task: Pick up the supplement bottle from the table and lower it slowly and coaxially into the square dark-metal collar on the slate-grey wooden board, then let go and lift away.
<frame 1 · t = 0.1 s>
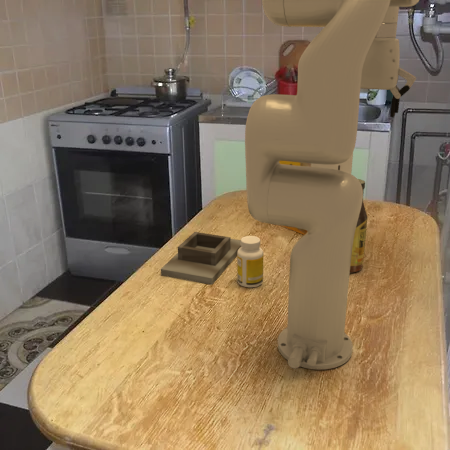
hand: (369, 114, 120), 31 cm above the table, fingers open, 9 cm apart
packaging box: (304, 219, 148), on the table
sauce bottle: (348, 268, 122), on the table
supplement bottle: (250, 282, 116), on the table
collar board: (205, 260, 125), on the table
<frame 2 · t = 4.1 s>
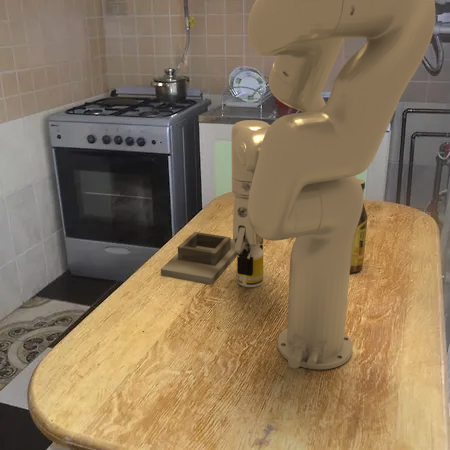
hand: (250, 266, 114), 4 cm above the table, fingers closed on supplement bottle, 5 cm apart
supplement bottle: (250, 282, 116), on the table, touching gripper
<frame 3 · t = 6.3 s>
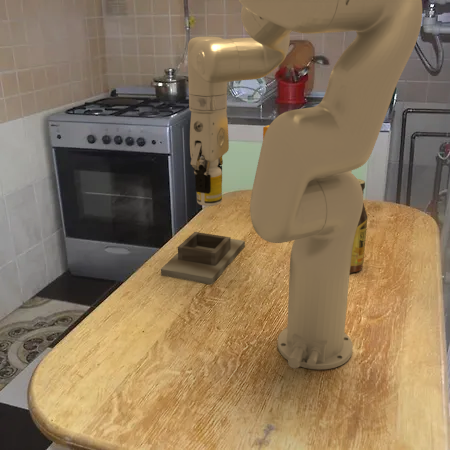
hand: (209, 186, 117), 18 cm above the table, fingers closed on supplement bottle, 5 cm apart
supplement bottle: (209, 203, 119), point 14 cm above the table, touching gripper
when the fingers open (6 cm above the table, at t = 8.5 s): supplement bottle stays where it is, resting on collar board.
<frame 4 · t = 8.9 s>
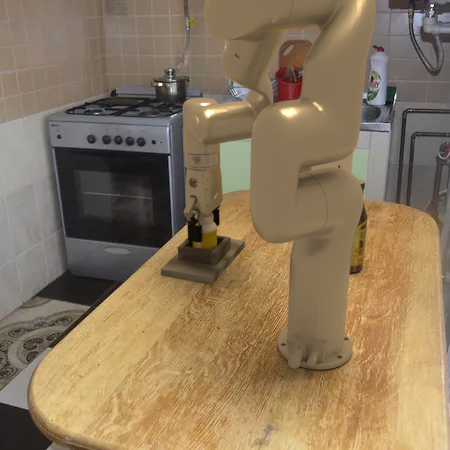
hand: (204, 232, 123), 7 cm above the table, fingers open, 9 cm apart
supplement bottle: (205, 255, 125), point 1 cm above the table, touching collar board
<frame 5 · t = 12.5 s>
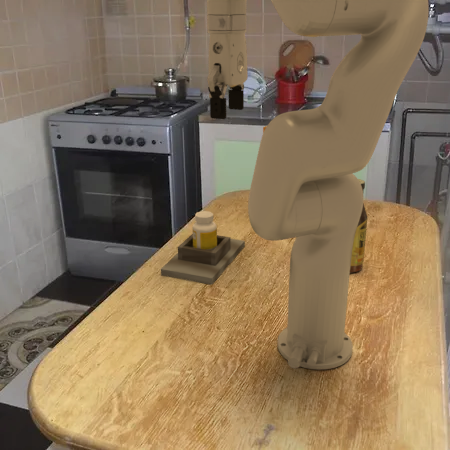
hand: (227, 113, 112), 33 cm above the table, fingers open, 9 cm apart
at the end: supplement bottle 0.2 cm off-centre on the collar board, point 1.3 cm above the collar board's base; supplement bottle tilted 0°; the gripper is holding nothing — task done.
